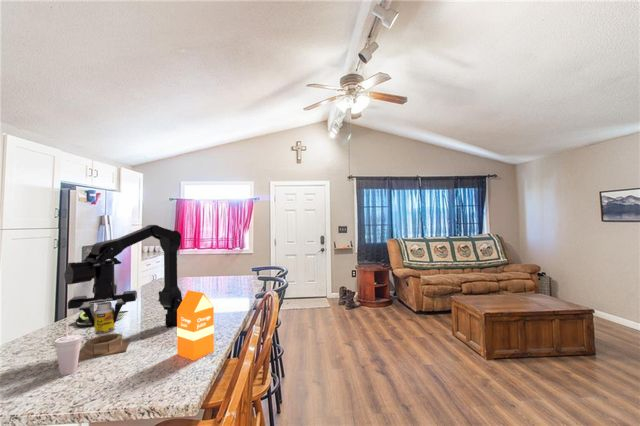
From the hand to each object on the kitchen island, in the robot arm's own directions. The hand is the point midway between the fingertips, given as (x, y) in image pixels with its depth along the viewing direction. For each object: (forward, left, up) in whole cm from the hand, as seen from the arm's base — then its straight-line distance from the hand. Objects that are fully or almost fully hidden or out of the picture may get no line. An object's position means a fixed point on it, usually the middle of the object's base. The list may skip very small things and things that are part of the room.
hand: (104, 324), depth 102 cm
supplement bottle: (0, 0, -3) cm, 3 cm away
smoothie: (+6, +14, -9) cm, 18 cm away
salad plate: (+9, -39, -9) cm, 41 cm away
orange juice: (-28, +18, -9) cm, 34 cm away
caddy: (0, 0, -9) cm, 9 cm away
